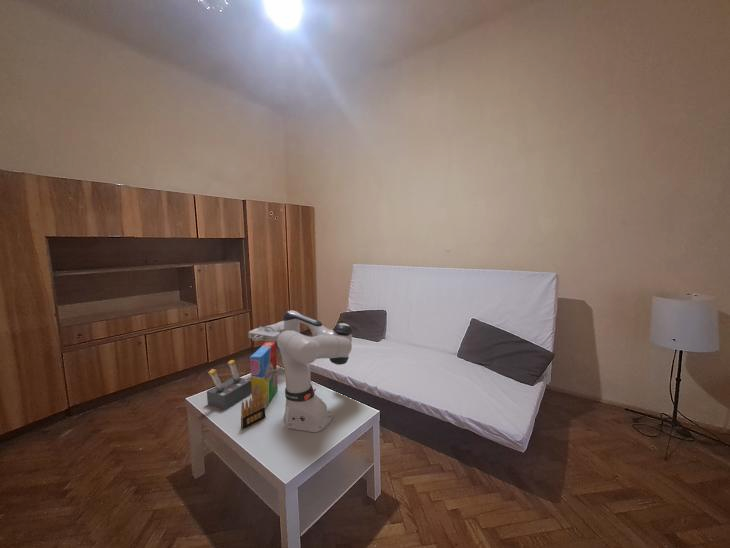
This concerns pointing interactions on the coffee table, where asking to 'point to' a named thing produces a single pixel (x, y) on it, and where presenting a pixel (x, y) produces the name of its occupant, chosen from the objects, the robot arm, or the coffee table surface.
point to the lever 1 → (216, 380)
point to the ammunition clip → (252, 412)
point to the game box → (264, 372)
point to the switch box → (229, 393)
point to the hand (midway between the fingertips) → (254, 339)
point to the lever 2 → (234, 371)
